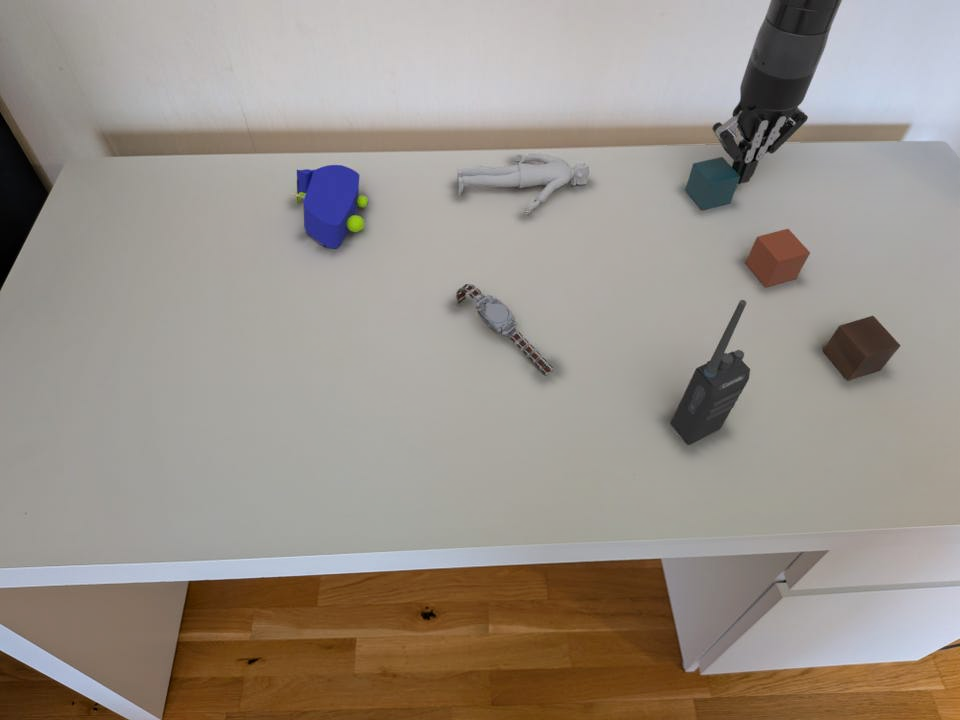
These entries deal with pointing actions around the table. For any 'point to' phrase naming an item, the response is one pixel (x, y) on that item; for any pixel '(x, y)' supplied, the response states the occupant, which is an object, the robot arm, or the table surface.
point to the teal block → (712, 183)
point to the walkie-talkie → (713, 389)
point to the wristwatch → (501, 322)
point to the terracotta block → (777, 257)
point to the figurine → (526, 175)
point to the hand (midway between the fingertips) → (739, 179)
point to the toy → (330, 203)
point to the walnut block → (860, 347)
